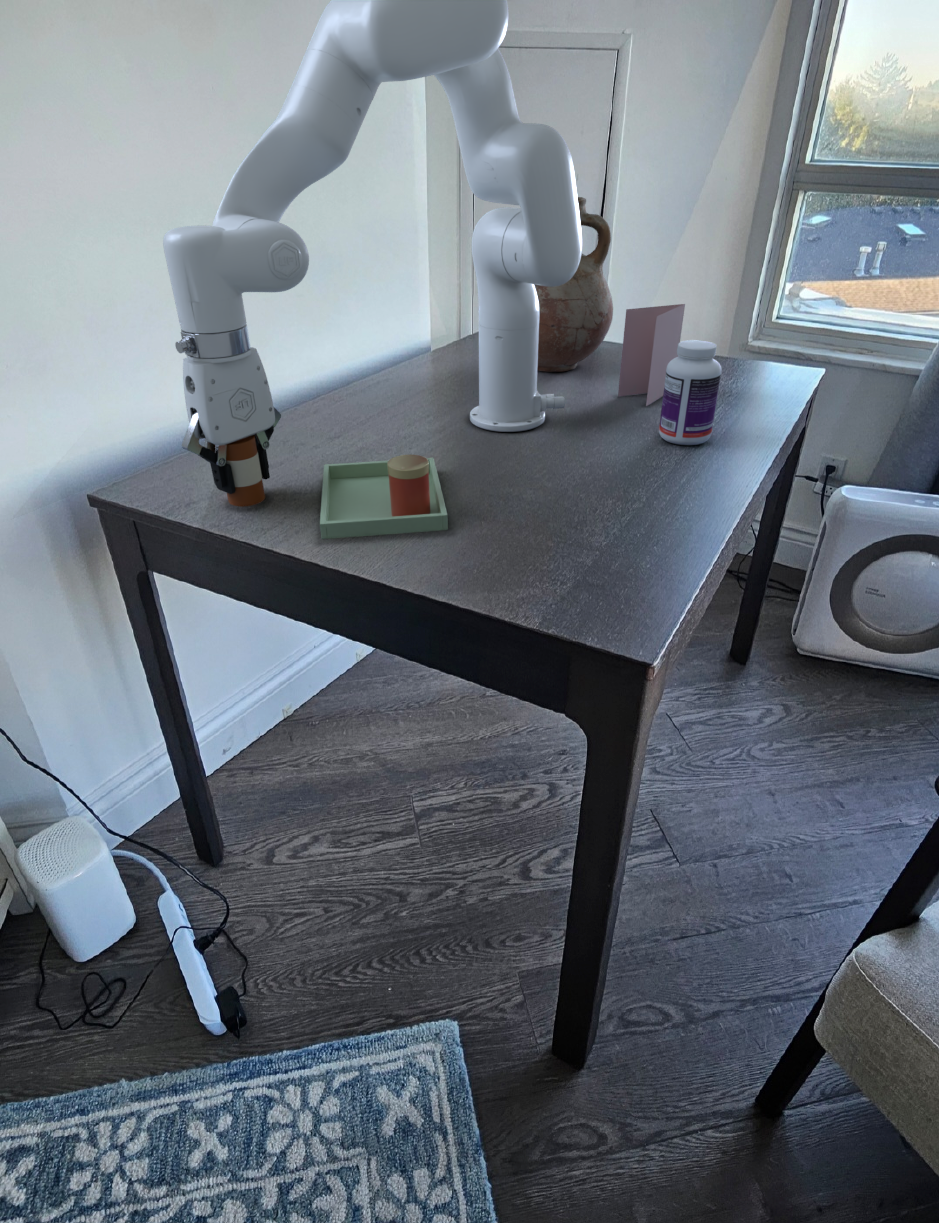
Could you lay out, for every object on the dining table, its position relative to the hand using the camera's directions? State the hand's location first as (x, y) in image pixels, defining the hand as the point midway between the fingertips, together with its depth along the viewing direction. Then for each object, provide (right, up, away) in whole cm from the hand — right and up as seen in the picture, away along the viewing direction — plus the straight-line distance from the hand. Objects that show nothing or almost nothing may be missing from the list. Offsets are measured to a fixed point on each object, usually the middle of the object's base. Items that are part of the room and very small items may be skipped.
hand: (243, 482), depth 100 cm
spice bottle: (0, -2, +2) cm, 3 cm away
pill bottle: (+64, +10, +19) cm, 67 cm away
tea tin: (+22, -5, -3) cm, 23 cm away
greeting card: (+63, +21, +36) cm, 76 cm away
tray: (+18, -3, 0) cm, 19 cm away
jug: (+47, +33, +54) cm, 79 cm away
